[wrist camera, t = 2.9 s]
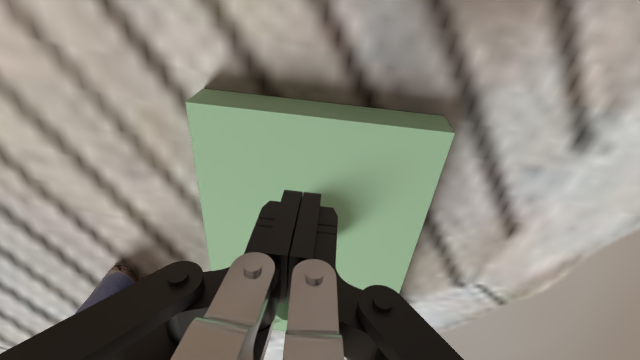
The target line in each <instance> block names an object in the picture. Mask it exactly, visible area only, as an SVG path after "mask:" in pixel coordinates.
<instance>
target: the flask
mask: <svg viewBox="0 0 640 360" xmlns="http://www.w3.org/2000/svg"><path fill="white" fill-rule="evenodd" d="M119 267H120V268H121V270H119V268H118V267H115V266H114V267H113V268H112V269H111V270H109V271H108V273H107V274H106V275H105V277H104V278H103V279H102V281H101V282H100V283H99V285H98V286H97V287H96V288H95V290H94V291H93V292H92V294H91V295H90V296H89V298H88V299H87V300H86V301H85V302H84V304H83V305H82V306H81V307H80V308H79V310H78V311H77V312H76V313H75V314H77V313H79V312H80V311H82V310H84V309H86V308H88V307H90V306H92V305H94V304H96V303H97V302H99V301H101V300H103V299H105V298H107V297H109V296H111V295H113V294H114V293H116V292H118V291H120V290H122V289H124V288H126V287H128V286H130V285H131V284H133V283H135V282H137V281H139V280H140V279H139V278H138V276H136V275H135V274H134V273H133V272H132V271H131V270H130V268H126V267H124V266H119Z"/></svg>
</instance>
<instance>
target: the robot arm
mask: <svg viewBox="0 0 640 360" xmlns="http://www.w3.org/2000/svg"><path fill="white" fill-rule="evenodd" d="M321 195H322V194H319V193H311V192H304V193H303V192H301V191H292V190H284V192H283V195H282V199H281V202H279V201H269V202H268V203H267V204H265V205H264V206H263V207H262V208H261V211H260V213H259V216H258V219H257V221H256V224H255V226H254V229H253V231H252V234H251V237H250V239H249V242H248V244H247V247H246V249H245V252H244V254H243V255H241V256H239V257H238V258H237V259H235V260H234V261H233V263H232V264H231V266H230V267H228V268H225V269H221V270H215V271H208V272H203V271H202V269H201V267H200V266H199V265H198V264H196V263H193V262H189V261H180V262H175V263H172V264H170V265H167V266H166V267H164V268H162V269H160V270H158V271H156V272H154V273H152V274H150V275H149V276H147V277H145V278H143V279H141V280H139V281H137V282H135V283H133V284H131V285H130V286H128V287H126V288H124V289H122V290H120V291H118V292H116V293H114V294H113V295H111V296H109V297H107V298H105V299H103V300H101V301H99V302H97V303H96V304H94V305H92V306H90V307H88V308H86V309H84V310H82V311H80V312H79V313H77V314H75V315H73V316H71V317H69V318H67V319H65V320H63V321H61V322H60V323H58V324H56V325H54V326H52V327H50V328H48V329H46V330H44V331H43V332H41V333H39V334H37V335H35V336H33V337H31V338H29V339H27V340H26V341H24V342H22V343H20V344H18V345H16V346H14V347H12V348H10V349H9V350H7V351H5V352H3V353H1V354H0V360H263V359H264V356H265V352H266V349H267V346H268V343H269V339H270V336H271V333H272V330H273V326H274V319H275V316H276V313H277V308H278V304H279V303H283V304H286V299H287V294H288V304H289V310H288V320H287V329H286V333H285V342H284V352H283V360H344V357H346V358H347V360H464V359H463V358H462V357H461V356H460V355H458V353H457V352H455V350H454V349H453V348H452V347H451V346H450V345H449V344H448V343H447V342H446V341H445V340H444V339H443V338H442V337H441V336H440V335H439V334H438V333H437V332H436V331H435V330H434V329H433V328H432V327H431V326H430V325H429V324H428V323H427V322H426V321H425V320H424V319H423V318H422V317H421V316H420V315H419V314H418V313H417V312H416V311H415V310H414V309H413V308H412V307H411V306H410V305H409V304H408V303H407V302H406V301H405V300H404V299H403V298H402V297H401V296H400V295H399V294H398V293H397V292H396V291H395V290H393V289H391V288H389V287H387V286H383V285H372V286H368V287H366V288H365V289H364V290H362V289H359V288H357V287H354V286H352V285H350V284H348V283H347V282H345V281H344V280H343V279H342V278H341V277H340V276H339V274H338V272H337V270H336V247H337V226H338V215H337V214H336V212H335V210H334V208H332V207H323V206H320V205H321Z"/></svg>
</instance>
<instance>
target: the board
mask: <svg viewBox="0 0 640 360" xmlns="http://www.w3.org/2000/svg"><path fill="white" fill-rule="evenodd" d="M186 108H187V115H188V121H189V128H190V135H191V141H192V148H193V155H194V161H195V168H196V175H197V181H198V188H199V195H200V201H201V208H202V215H203V221H204V228H205V235H206V241H207V248H208V255H209V261H210V268H211V271H215V270H221V269H225V268H228V267H230V266H231V264H232V263H233V261H234V260H235V259H237V258H238V257H239V256H241V255H243V254H244V252H245V249H246V247H247V244H248V242H249V239H250V237H251V234H252V231H253V229H254V226H255V224H256V221H257V219H258V216H259V213H260V211H261V208H262V207H263V206H264V205H265V204H267V203H268V202H269V201H279V202H281V199H282V195H283V192H284V190H292V191H301V192H303V193H304V192H311V193H319V194H322V195H321V205H320V206H323V207H332V208H334V210H335V212H336V214H337V215H338V226H337V252H336V270H337V272H338V274H339V276H340V277H341V278H342V279H343V280H344V281H345V282H347V283H348V284H350V285H352V286H354V287H357V288H359V289H362V290H364V289H365V288H366V287H368V286H372V285H383V286H387V287H389V288H391V289H393V290H395V291H396V292H397V293H398V294H399V293H400V290H401V287H402V284H403V281H404V278H405V275H406V272H407V270H408V267H409V264H410V261H411V258H412V255H413V252H414V250H415V247H416V244H417V241H418V238H419V235H420V232H421V229H422V227H423V224H424V221H425V218H426V215H427V212H428V209H429V206H430V204H431V201H432V198H433V195H434V192H435V189H436V186H437V183H438V181H439V178H440V175H441V172H442V169H443V166H444V163H445V160H446V158H447V155H448V152H449V149H450V146H451V143H452V140H453V137H454V135H455V132H454V131H453V129H452V128H451V126H450V124H449V123H448V121H447V120H446V118H445V117H444V116H440V115H431V114H422V113H414V112H405V111H396V110H387V109H378V108H370V107H361V106H352V105H343V104H335V103H326V102H317V101H308V100H300V99H291V98H282V97H273V96H264V95H256V94H247V93H238V92H229V91H221V90H212V89H202V90H201V91H199V92H198V93H197V94H195V95H194V96H193V97H192V98H190V99H189V100H188V101H186ZM288 310H289V304H288V296H287V299H286V304H283V303H279V304H278V308H277V313H276V316H275V319H274V326H273V330H277V331H285V332H286V329H287V320H288Z"/></svg>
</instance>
